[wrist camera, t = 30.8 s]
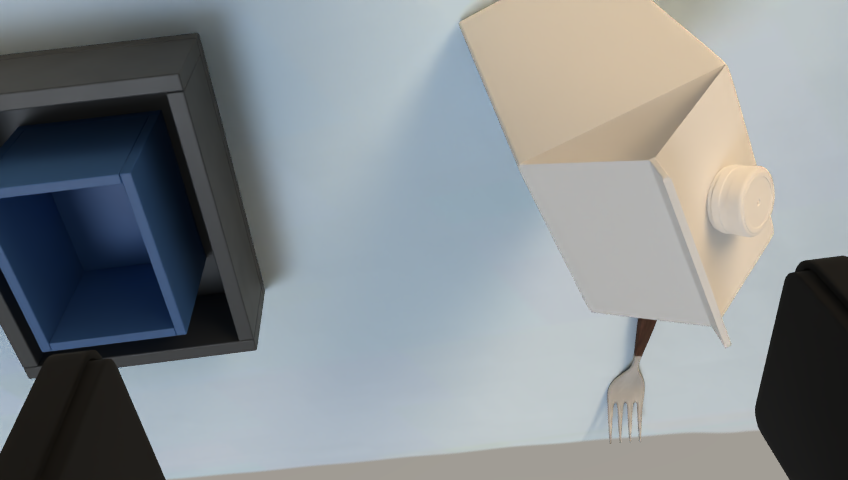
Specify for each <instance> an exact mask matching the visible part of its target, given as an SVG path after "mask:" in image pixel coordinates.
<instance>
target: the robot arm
mask: <svg viewBox="0 0 848 480" xmlns="http://www.w3.org/2000/svg"><path fill="white" fill-rule="evenodd" d="M755 416H756V421H757V424H758V427H759V430H760V432H761V433H762V435H763V437H764V438H765V440H766V441H767V443H768V445H769V447H770V448H771V450H772V452H773V453H774V455H775V456H776V458H777V460H778V462H779V463H780V465H781V466H782V468H783V470H784V471H785V473H786V475H787V476H788V478H789V480H848V257H846V256H837V257H829V258H821V259H813V260H806V261H803V262H801V263H800V264H799V265H798V266H797V268H796V271H795V272H793V273H789V274H788V275H787V276H786V279H785V281H784V285H783V290H782V294H781V298H780V302H779V307H778V311H777V315H776V320H775V324H774V328H773V333H772V337H771V341H770V345H769V350H768V354H767V358H766V363H765V367H764V371H763V376H762V380H761V384H760V388H759V393H758V397H757V401H756V406H755ZM0 480H165V477H164V475H163V473H162V470H161V468H160V466H159V463H158V461H157V459H156V456H155V454H154V452H153V449H152V447H151V445H150V442H149V440H148V438H147V435H146V433H145V431H144V428H143V426H142V424H141V421H140V419H139V417H138V414H137V412H136V410H135V407H134V405H133V403H132V400H131V398H130V396H129V393H128V391H127V389H126V386H125V384H124V382H123V379H122V377H121V375H120V372H119V370H118V368H117V366H116V364H115V362H114V361H113V360H112V359H102V357H101V355H100V354H99V353H98V352H97V351H96V350H86V351H78V352H70V353H62V354H54V355H51V356H49V357H47V359H46V360H45V362H44V363H43V365H42V367H41V369H40V371H39V374H38V376H37V378H36V380H35V382H34V384H33V386H32V388H31V390H30V392H29V394H28V396H27V399H26V401H25V403H24V405H23V407H22V409H21V411H20V413H19V415H18V417H17V419H16V422H15V424H14V426H13V428H12V430H11V432H10V434H9V436H8V438H7V440H6V442H5V445H4V447H3V449H2V451H1V453H0Z"/></svg>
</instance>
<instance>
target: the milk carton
mask: <svg viewBox="0 0 848 480" xmlns="http://www.w3.org/2000/svg"><path fill="white" fill-rule="evenodd" d="M459 26H460V29H461V31H462V34H463V36H464V38H465V41H466V43H467V46H468V48H469V50H470V53H471V55H472V58H473V60H474V62H475V65H476V67H477V70H478V72H479V74H480V77H481V79H482V82H483V84H484V86H485V89H486V91H487V94H488V96H489V98H490V101H491V103H492V106H493V108H494V110H495V113H496V115H497V118H498V120H499V122H500V125H501V127H502V130H503V132H504V134H505V137H506V139H507V142H508V144H509V146H510V149H511V151H512V154H513V156H514V158H515V161H516V163H517V166H518V168H519V170H520V173H521V175H522V177H523V179H524V181H525V183H526V185H527V187H528V189H529V191H530V193H531V195H532V197H533V199H534V201H535V203H536V205H537V207H538V209H539V211H540V213H541V215H542V217H543V219H544V221H545V223H546V225H547V227H548V229H549V231H550V233H551V235H552V237H553V239H554V241H555V243H556V245H557V247H558V249H559V251H560V253H561V255H562V257H563V259H564V261H565V263H566V265H567V267H568V269H569V271H570V273H571V275H572V277H573V279H574V281H575V283H576V285H577V287H578V289H579V291H580V293H581V295H582V297H583V299H584V301H585V302H586V304H587V306H588V308H589V309H590V311H591V312H594V313H601V314H610V315H618V316H627V317H635V318H643V319H652V320H660V321H669V322H677V323H685V324H694V325H702V326H710V327H712V328H713V329H714V331H715V332H716V334H717V335H718V337H719V339H720V340H721V342H722V343H723V345H724V346H725V348H727V347H729V346H731V341H730V339H729V336H728V333H727V330H726V328H725V325H724V322H723V319H722V317H723V315H724V313H725V312H726V310H727V309H728V307H729V305H730V304H731V302H732V301H733V299H734V297H735V296H736V294H737V293H738V291H739V289H740V288H741V286H742V285H743V283H744V281H745V280H746V278H747V277H748V275H749V273H750V272H751V270H752V269H753V267H754V265H755V264H756V262H757V261H758V259H759V257H760V256H761V254H762V253H763V251H764V249H765V248H766V246H767V245H768V243H769V241H770V240H771V238H772V236H773V234H774V230H773V224H772V220H771V213H772V210H773V205H774V184H773V180H772V177H771V175H770V173H769V171H768V170H767V169H766V168H764V167H762V166H757V165H756V161H755V158H754V154H753V151H752V147H751V143H750V140H749V136H748V133H747V129H746V126H745V122H744V118H743V115H742V111H741V108H740V104H739V101H738V97H737V94H736V90H735V87H734V84H733V80H732V77H731V74H730V71H729V69H728V66H727V65H726V64H725V62H724V61H723V60H722V59H720V58H719V57H718V56H717V55H716V54H715V53H714V52H713V51H711V50H710V49H709V48H708V47H707V46H705V45H704V44H703V43H702V42H701V41H699V40H698V39H697V38H696V37H695V36H693V35H692V34H691V33H690V32H689V31H687V30H686V29H685V28H684V27H683V26H681V25H680V24H679V23H678V22H677V21H676V20H674V19H673V18H672V17H671V16H670V15H668V14H667V13H666V12H665V11H664V10H662V9H661V8H660V7H659V6H658V5H656V4H655V3H654V2H653V1H652V0H499V1H498V2H496V3H494V4H492V5H490V6H488V7H486V8H484V9H483V10H481V11H479V12H477V13H475V14H473V15H471V16H469V17H468V18H466V19H464V20H462V21H460V22H459Z"/></svg>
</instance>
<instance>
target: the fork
mask: <svg viewBox="0 0 848 480" xmlns="http://www.w3.org/2000/svg"><path fill="white" fill-rule="evenodd" d="M656 321H657V320H652V319H643V318H639V319H638V325H637V333H636V342H635V351H634V358H633V363H632V365H631V367H630V368H629V369H628V370H627V371H625V372H624V373H622V374H621V375H620V376H618V377H617V378H616V379H615V380H614V381H613V382H612V383H611V384H610V386H609V389H608V395H607V399H608V424H609V438H610V444H611V434H612V414H613V405H614V403H616V404H617V408H618V426H619V440H620V443H621V431H622V411H623V405H624V403H627V409H628V428H629V441H630V443H631V426H632V409H633V404H634V403H635V402H636V403H637V413H638V431H639V442H641V422H642V405H643V398H644V389H645V386H644V380H643V378H642V376H641V374H640V372H639V370H638V365H639V362H640V359H641V357H642V354H643V352H644V350H645V347H646V345H647V343H648V341H649V338H650V336H651V334H652V331H653V329H654V326H655V324H656Z"/></svg>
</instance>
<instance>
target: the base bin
mask: <svg viewBox="0 0 848 480" xmlns="http://www.w3.org/2000/svg"><path fill="white" fill-rule="evenodd" d="M157 110H161V111H162V113H163V117H164V120H165V123H166V127H167V130H168V133H169V136H170V140H171V143H172V146H173V150H174V153H175V156H176V159H177V163H178V166H179V169H180V173H181V176H182V179H183V182H184V186H185V189H186V192H187V196H188V199H189V202H190V205H191V209H192V212H193V215H194V219H195V222H196V225H197V228H198V232H199V235H200V238H201V242H202V245H203V248H204V251H205V255H206V262H205V266H204V270H203V273H202V277H201V281H200V285H199V289H198V293H197V296H196V300H195V304H194V308H193V312H192V316H191V320H190V323H189V327H188V331H187V334H185V335H176V336H170V337H162V338H154V339H146V340H138V341H130V342H122V343H113V344H105V345H97V346H89V347H81V348H73V349H65V350H57V351H49V352H42V351H41V349H40V347H39V345H38V343H37V341H36V339H35V337H34V334H33V332H32V330H31V328H30V326H29V324H28V322H27V320H26V318H25V316H24V314H23V312H22V310H21V308H20V306H19V304H18V302H17V300H16V298H15V296H14V294H13V292H12V290H11V288H10V286H9V284H8V282H7V280H6V278H5V276H4V274H3V272H2V270H1V268H0V324H1V326H2V328H3V330H4V332H5V334H6V336H7V338H8V340H9V342H10V343H11V345H12V347H13V349H14V351H15V353H16V355H17V357H18V359H19V361H20V362H21V364H22V366H23V368H24V370H25V372H26V374H27V376H28V377H29V378H30V379H31V378H37V376H38V374H39V371H40V369H41V367H42V365H43V363H44V362H45V360H46V359H47V357H49V356H51V355H54V354H62V353H70V352H78V351H86V350H96V351H97V352H98V353H99V354H100V355H101V357H102V359H112V360H113V361H114V362H115V364H116V366H117V368H119V367H127V366H134V365H142V364H150V363H158V362H166V361H174V360H182V359H190V358H198V357H206V356H214V355H222V354H230V353H238V352H246V351H254V350H257V345H258V337H259V330H260V323H261V316H262V308H263V301H264V294H265V288H264V284H263V280H262V277H261V273H260V269H259V265H258V261H257V257H256V253H255V249H254V246H253V242H252V238H251V234H250V230H249V226H248V222H247V218H246V215H245V211H244V207H243V203H242V199H241V195H240V191H239V187H238V184H237V180H236V176H235V172H234V168H233V164H232V160H231V157H230V153H229V149H228V145H227V141H226V137H225V133H224V129H223V126H222V122H221V118H220V114H219V110H218V106H217V102H216V98H215V95H214V91H213V87H212V83H211V79H210V75H209V71H208V67H207V64H206V60H205V56H204V52H203V48H202V44H201V40H200V36H199V34H198V33H194V34H185V35H176V36H168V37H159V38H150V39H141V40H132V41H123V42H115V43H106V44H97V45H88V46H79V47H70V48H62V49H53V50H44V51H35V52H26V53H17V54H9V55H0V148H1V147H2V145H3V144H4V143H5V142H6V141H7V140H8V138H9V137H10V136H11V135H12V134H13V132H14V131H15V130H16V129H17V128H18V127H19V126H28V125H36V124H45V123H54V122H62V121H71V120H80V119H88V118H97V117H105V116H114V115H123V114H131V113H140V112H149V111H157Z"/></svg>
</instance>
